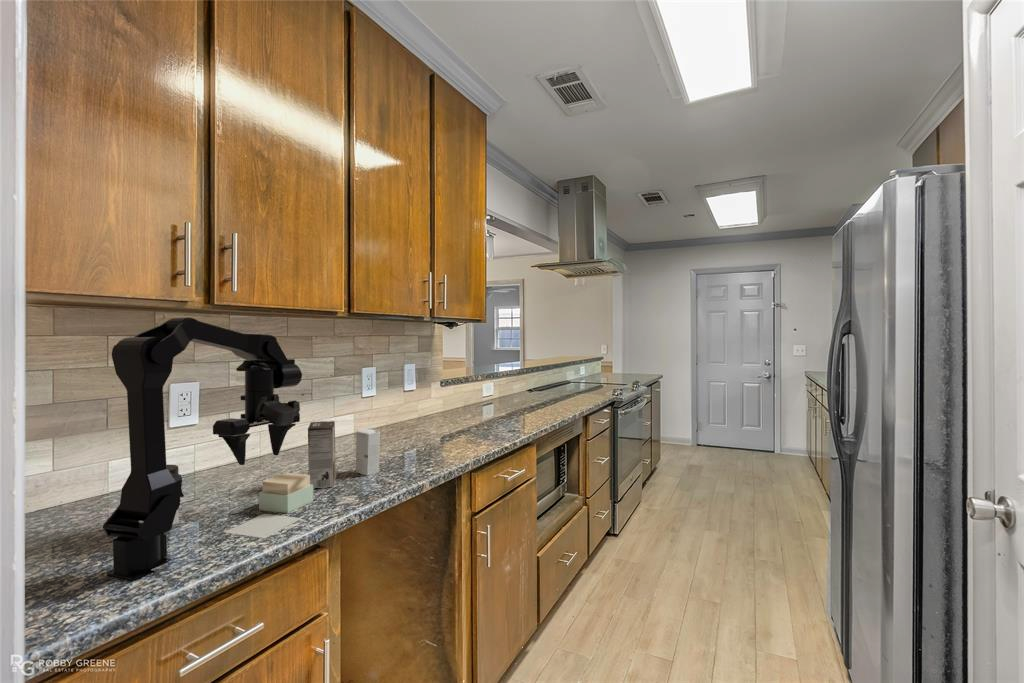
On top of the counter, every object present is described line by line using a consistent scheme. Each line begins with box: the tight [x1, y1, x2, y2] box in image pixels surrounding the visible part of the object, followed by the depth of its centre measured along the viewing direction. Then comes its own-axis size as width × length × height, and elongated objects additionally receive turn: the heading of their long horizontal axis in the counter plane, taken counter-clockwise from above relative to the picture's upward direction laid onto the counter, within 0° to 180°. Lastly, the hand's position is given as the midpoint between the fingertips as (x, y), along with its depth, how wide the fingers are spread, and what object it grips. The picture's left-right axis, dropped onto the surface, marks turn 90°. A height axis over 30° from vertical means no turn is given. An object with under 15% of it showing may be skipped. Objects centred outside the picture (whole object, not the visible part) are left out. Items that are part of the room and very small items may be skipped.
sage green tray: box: [258, 484, 314, 514], centre depth 107 cm, size 8×8×4 cm
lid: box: [262, 472, 310, 495], centre depth 107 cm, size 7×7×2 cm
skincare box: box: [355, 428, 381, 477], centre depth 134 cm, size 6×4×12 cm
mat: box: [224, 513, 302, 539], centre depth 96 cm, size 10×10×1 cm
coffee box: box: [307, 420, 337, 490], centre depth 124 cm, size 9×6×16 cm
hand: (259, 459), depth 104 cm, fingers open, 9 cm apart
